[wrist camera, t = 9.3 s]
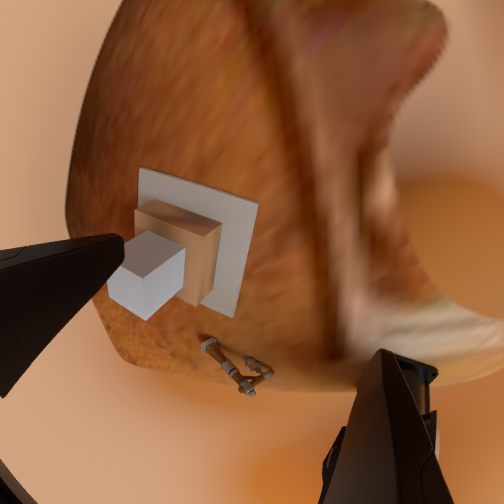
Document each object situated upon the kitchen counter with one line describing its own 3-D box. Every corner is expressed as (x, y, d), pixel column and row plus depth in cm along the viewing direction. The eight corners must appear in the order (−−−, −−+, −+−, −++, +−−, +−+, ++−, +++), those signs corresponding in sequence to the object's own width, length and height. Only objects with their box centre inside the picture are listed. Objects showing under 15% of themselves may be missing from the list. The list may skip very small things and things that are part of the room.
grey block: (185, 247, 21) (142, 278, 17) (182, 287, 23) (145, 320, 19) (147, 230, 22) (103, 255, 18) (147, 268, 24) (109, 297, 20)
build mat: (259, 202, 21) (257, 204, 20) (234, 316, 27) (232, 318, 27) (142, 167, 24) (139, 167, 23) (141, 270, 30) (139, 271, 30)
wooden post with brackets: (277, 382, 28) (246, 404, 25) (230, 337, 32) (199, 353, 29) (281, 374, 27) (250, 396, 24) (232, 327, 31) (200, 343, 28)
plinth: (222, 223, 22) (203, 237, 20) (212, 289, 26) (195, 307, 23) (157, 199, 24) (134, 209, 22) (155, 262, 28) (136, 275, 25)
